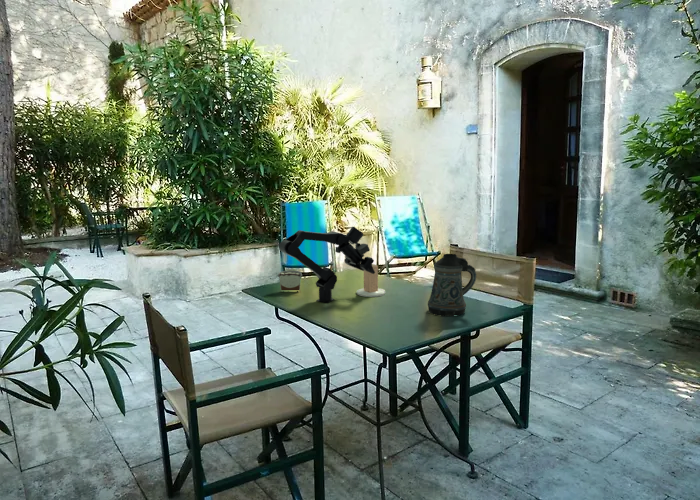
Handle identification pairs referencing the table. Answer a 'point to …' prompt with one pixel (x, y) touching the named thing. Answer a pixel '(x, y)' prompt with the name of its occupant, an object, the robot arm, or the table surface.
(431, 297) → the beer stein
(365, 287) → the tan tall block
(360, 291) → the cream plate
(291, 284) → the food container
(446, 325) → the table surface
